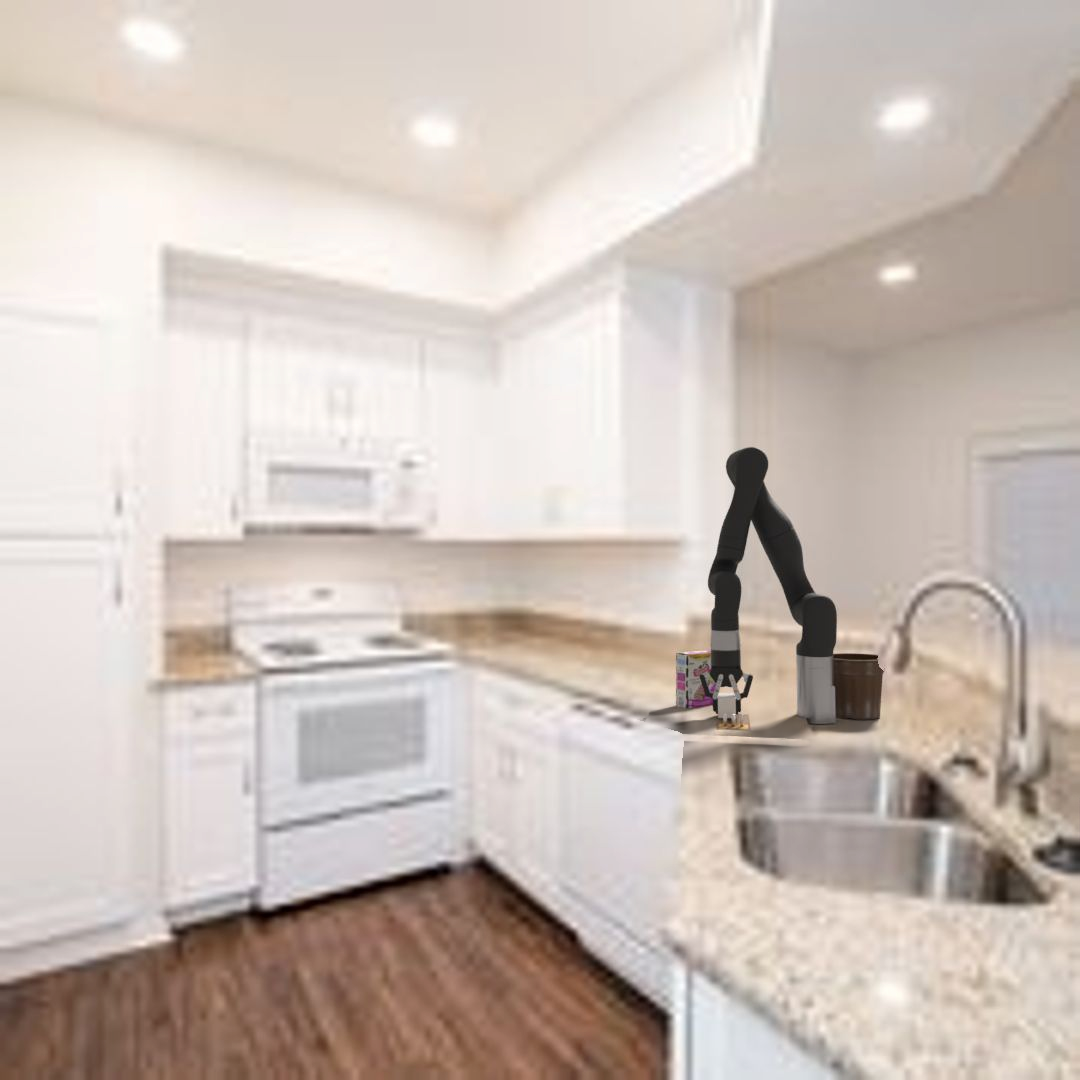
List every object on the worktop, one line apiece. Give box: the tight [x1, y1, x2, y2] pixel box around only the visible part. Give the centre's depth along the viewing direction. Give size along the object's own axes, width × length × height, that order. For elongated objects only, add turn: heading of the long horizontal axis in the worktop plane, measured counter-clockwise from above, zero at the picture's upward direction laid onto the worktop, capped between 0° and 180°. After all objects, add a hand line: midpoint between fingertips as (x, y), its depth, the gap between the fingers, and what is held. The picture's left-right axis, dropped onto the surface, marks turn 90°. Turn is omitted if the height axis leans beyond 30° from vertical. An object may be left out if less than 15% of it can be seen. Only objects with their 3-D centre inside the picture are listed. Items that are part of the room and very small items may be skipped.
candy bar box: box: [675, 650, 716, 709], centre depth 226 cm, size 11×5×16 cm, turn 122°
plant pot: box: [833, 652, 885, 721], centre depth 217 cm, size 16×16×16 cm
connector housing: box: [717, 692, 736, 718], centre depth 208 cm, size 8×4×5 cm, turn 167°
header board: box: [716, 713, 752, 732], centre depth 203 cm, size 8×20×2 cm, turn 167°
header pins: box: [723, 713, 745, 727], centre depth 198 cm, size 5×1×3 cm, turn 77°
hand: (726, 713), depth 208 cm, fingers closed on connector housing, 4 cm apart
